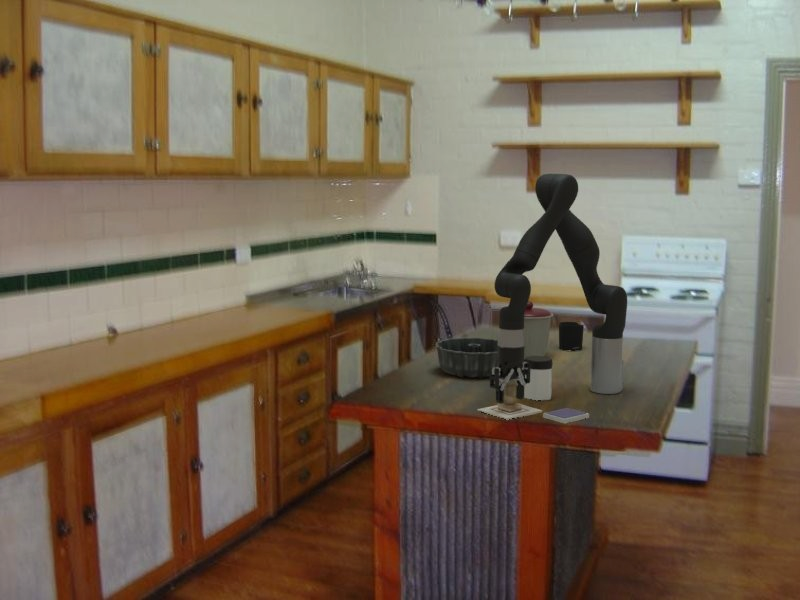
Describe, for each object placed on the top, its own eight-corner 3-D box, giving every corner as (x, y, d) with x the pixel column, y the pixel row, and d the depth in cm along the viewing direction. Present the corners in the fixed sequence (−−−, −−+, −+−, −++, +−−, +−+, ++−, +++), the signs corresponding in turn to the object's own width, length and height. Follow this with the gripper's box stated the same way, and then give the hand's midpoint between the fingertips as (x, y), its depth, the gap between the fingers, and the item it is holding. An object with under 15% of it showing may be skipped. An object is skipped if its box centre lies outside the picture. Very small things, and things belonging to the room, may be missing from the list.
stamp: (509, 406, 268) (510, 382, 267) (521, 410, 264) (522, 385, 263) (497, 409, 265) (498, 384, 264) (509, 412, 261) (510, 387, 260)
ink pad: (567, 411, 265) (567, 407, 264) (589, 417, 258) (589, 412, 258) (542, 417, 258) (543, 412, 258) (564, 423, 252) (564, 418, 252)
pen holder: (556, 350, 355) (557, 324, 354) (559, 346, 364) (560, 321, 363) (581, 352, 353) (582, 326, 351) (584, 347, 361) (584, 322, 360)
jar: (557, 397, 281) (559, 358, 280) (542, 402, 275) (543, 362, 274) (533, 392, 287) (534, 354, 286) (517, 397, 282) (518, 358, 280)
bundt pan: (509, 384, 300) (510, 353, 298) (428, 379, 305) (429, 349, 304) (516, 367, 325) (516, 339, 324) (441, 363, 331) (441, 336, 329)
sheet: (512, 404, 273) (512, 401, 273) (542, 412, 264) (542, 410, 264) (477, 411, 265) (477, 409, 265) (507, 420, 255) (507, 418, 255)
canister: (555, 363, 332) (557, 304, 329) (504, 362, 332) (505, 304, 329) (548, 353, 350) (549, 298, 347) (500, 353, 350) (501, 297, 347)
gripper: (519, 339, 269) (518, 394, 271) (483, 344, 260) (482, 402, 262) (538, 343, 263) (537, 399, 265) (502, 348, 254) (501, 407, 257)
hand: (509, 400), depth 264 cm, fingers open, 7 cm apart
